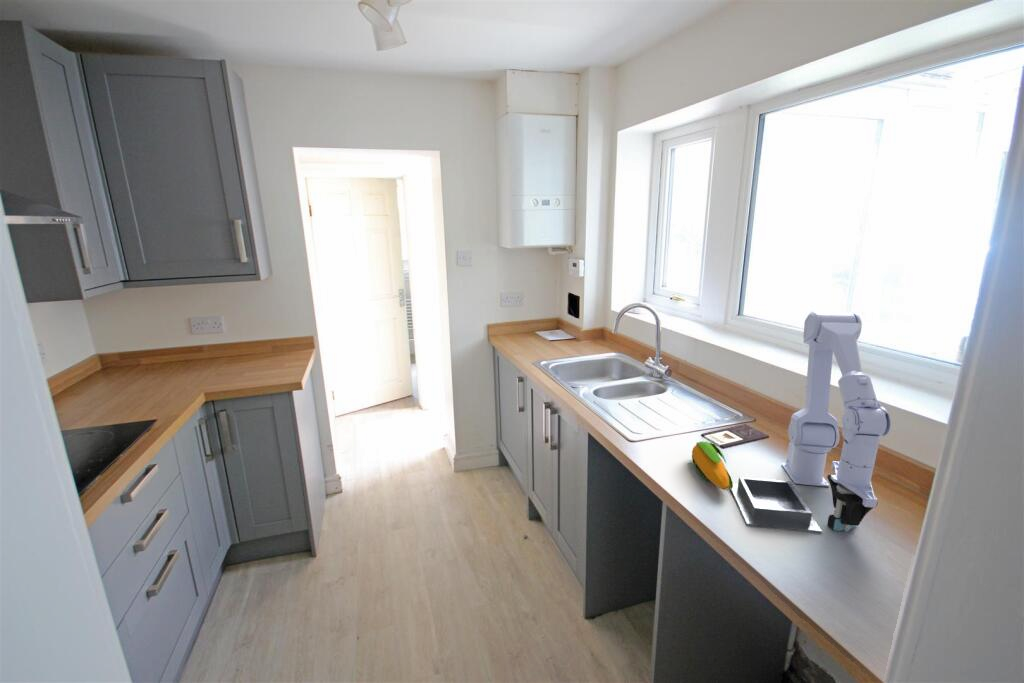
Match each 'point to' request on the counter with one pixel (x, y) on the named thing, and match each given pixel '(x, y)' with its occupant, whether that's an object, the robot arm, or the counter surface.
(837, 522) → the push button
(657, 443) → the counter surface
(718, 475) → the corn
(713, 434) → the chocolate bar
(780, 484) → the grey metal tray
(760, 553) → the counter surface
